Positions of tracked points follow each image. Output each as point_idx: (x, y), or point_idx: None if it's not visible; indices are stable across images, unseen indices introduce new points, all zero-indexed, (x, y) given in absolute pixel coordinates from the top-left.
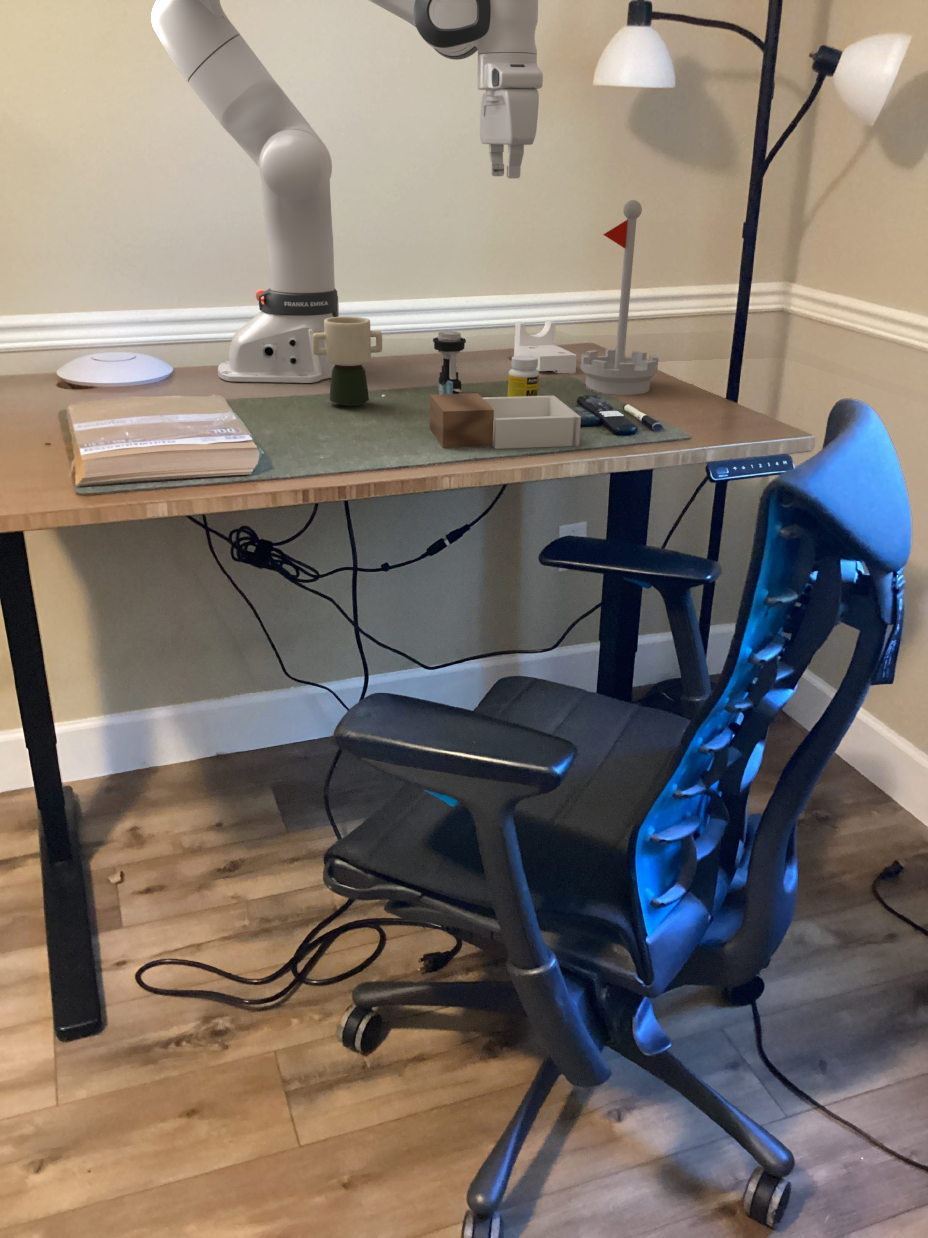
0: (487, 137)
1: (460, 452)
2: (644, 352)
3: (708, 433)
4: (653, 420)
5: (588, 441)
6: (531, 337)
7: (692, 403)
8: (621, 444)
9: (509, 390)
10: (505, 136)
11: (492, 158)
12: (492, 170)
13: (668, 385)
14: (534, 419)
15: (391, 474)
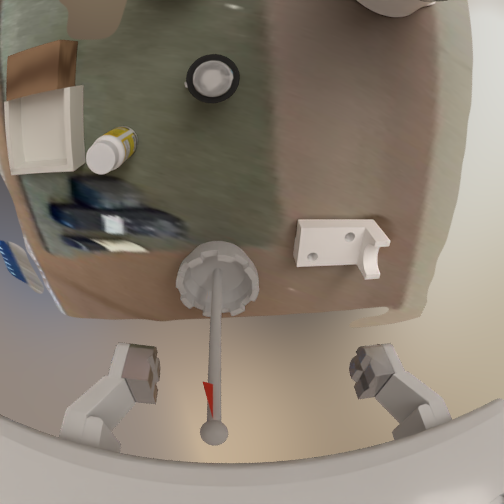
0: (431, 451)
1: None
2: (233, 314)
3: (62, 269)
4: (93, 249)
5: (34, 176)
6: (365, 245)
7: (149, 299)
8: (29, 199)
9: (110, 131)
10: (38, 460)
11: (405, 389)
12: (382, 355)
13: None
14: (6, 135)
15: None
